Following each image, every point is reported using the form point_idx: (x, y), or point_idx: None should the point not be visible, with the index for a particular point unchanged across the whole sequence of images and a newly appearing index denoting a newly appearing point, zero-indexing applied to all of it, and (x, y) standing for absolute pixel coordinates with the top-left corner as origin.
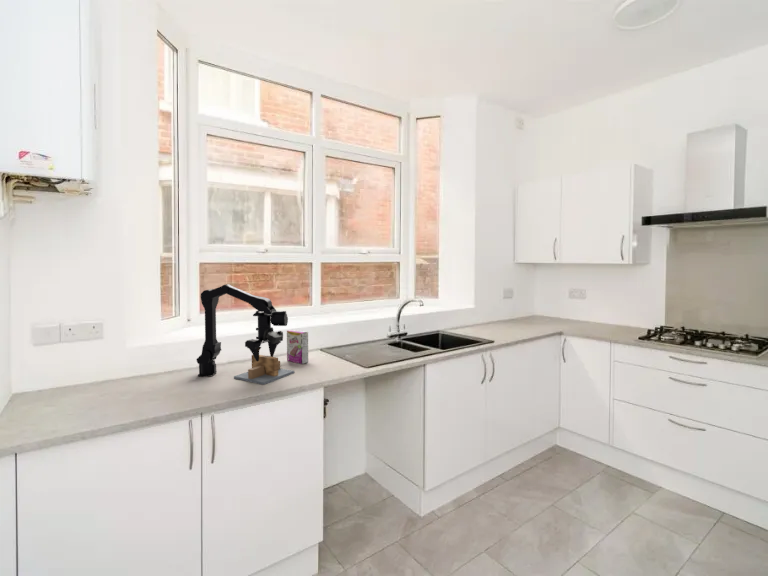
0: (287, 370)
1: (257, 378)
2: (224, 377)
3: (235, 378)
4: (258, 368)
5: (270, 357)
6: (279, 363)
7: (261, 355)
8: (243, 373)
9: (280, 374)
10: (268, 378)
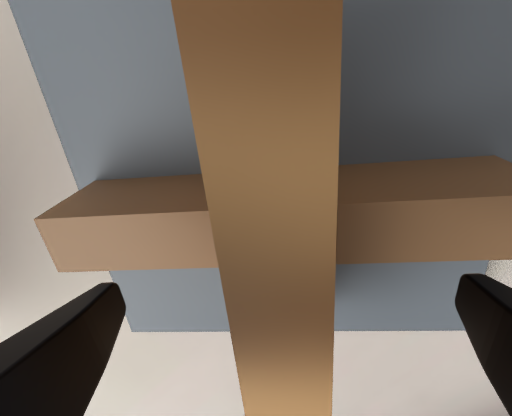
0: (63, 75)
1: (458, 122)
2: (460, 371)
3: None
4: (440, 196)
5: (275, 180)
6: (66, 205)
7: (263, 398)
8: (374, 324)
9: None
10: (412, 4)
